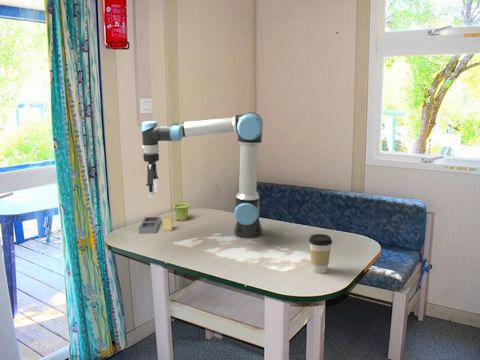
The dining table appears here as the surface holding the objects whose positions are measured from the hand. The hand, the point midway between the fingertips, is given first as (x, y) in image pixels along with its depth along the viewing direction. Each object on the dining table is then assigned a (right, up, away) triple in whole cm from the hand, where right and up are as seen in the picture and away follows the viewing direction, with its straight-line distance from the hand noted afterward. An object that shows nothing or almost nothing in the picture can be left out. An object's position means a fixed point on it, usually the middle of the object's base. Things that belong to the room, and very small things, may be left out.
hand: (153, 194), depth 229 cm
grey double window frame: (-7, -19, +27) cm, 34 cm away
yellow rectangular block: (+4, -20, +23) cm, 31 cm away
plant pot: (+9, -16, +41) cm, 45 cm away
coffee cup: (+78, -32, -33) cm, 90 cm away
